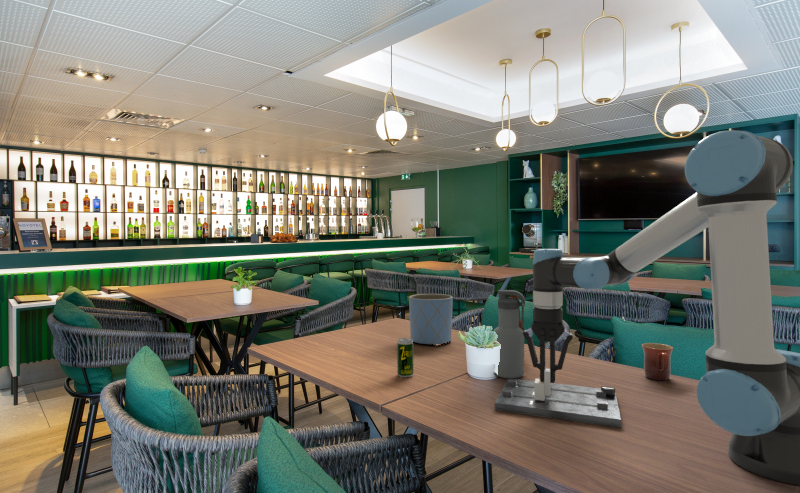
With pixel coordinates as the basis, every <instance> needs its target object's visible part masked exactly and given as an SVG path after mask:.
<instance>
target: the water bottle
mask: <svg viewBox="0 0 800 493" xmlns="http://www.w3.org/2000/svg"><path fill="white" fill-rule="evenodd" d="M497 294H498V299H497V309H498V326H497V327H495V328H494V330H493V332H494V331H495V332H496V333H497V335H498V338H497V341H498V342H499V343H500V344H501V349H500V362H499V365H498V376H497V377H499V378H502V379H506V380H507V379H508V378H512V379H520V378H522V377H523V376H524V374H525V337H524V335H523V330H522V329H521V328H519V309H520V307H521V321H522V328H524V329H525V323H524V322H525V320H524V317H525V316H524V314H525V306H526V299H525V296H524V295H523V294H522V293H521V292H520V291H518V290H513V289H498V290H497ZM510 295H515V296H517V297H518V298H519V299H516V298H510Z"/></svg>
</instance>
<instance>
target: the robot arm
mask: <svg viewBox="0 0 800 493" xmlns="http://www.w3.org/2000/svg"><path fill="white" fill-rule="evenodd" d="M686 157H687V158H686V160H685V164H684V176H685V179H686V181H687V183H688V184H689V186H690V187H691V188H692V189H693V190H694V191H696V192H695V193H693V194H692V195H690V196H689V197H688V198H686V199H685V200H684V201H682V202H680V203H679V204H678V205H677V206H675V207H673V208H672V209H671V210H669V211H668V212H666V213H665V214H663V215H662V216H660V217H659V218H658V219H657V220H655V221H653V222H652V223H650V224H649V225H648V226H646V227H644V228H643V229H642V230H640V231H639V232H638V233H636V234H635V235H633V236H632V237H630V238H629V239H628V240H626V241H625V242H623V244H621V245H619V246H618V247H616V248H615V249H614V250H612V251H611V252H610V253H608V254H606V255H604V256H593V257H591V256H589V257H567V256H564V253H563V250H562V249H559V248H537V249H535V250H534V252H533V258H532V264H531V265H532V278H533V284H532V285H533V287H532V288H533V290H532V304H533V305H534V307H532V324H531V325H530V328H528V329H524V332H523V335H524V339H525V340H526V343H527V347H528V352H529V355H530V359H531V363H532V366H533V368H537V369H538V370H539V379H540V381H541V382H544V395H545V396H550V395H551V383H555V382H556V372H557V371H562V369H563V366H564V362H565V359H566V354H567V350H568V347H569V344H570V343H571V342H572V340H573V339H574V334H573V333H572V332H568V331H567V330H565V326H564V324H563V322H564V321H563V319H564V318H563V317H564V314H563V308H562V307H563V305H564V304H563V303H564V302H563V301H564V297H563V294H564V293H563V292H564V291H563V289H564V288H563V287H568V288H576V289H577V288H578V289H584V290H586V291H587V290H588V291H589V290H597V291H598V290H601V289H603V288H604V287H605V286H618V285H619V286H621V285H622V284H626V283H629V282H631V280H632V279H633V278H634V276H635V274H636V273H637V272H639V271H640V270H642V269H643V268H645V267H647V266H648V265H650V264H652V263H654V262H655V261H656V260H658V259H659V258H661V257H663V256H665V255H667V253H669V252H670V251H673V250H674V249H676V248H677V247H679V246H680V245H682V244H684V243H685V242H687V241H689V240H690V239H692V238H693V237H695V236H697V235H698V234H700V233H702V232H703V231H705V230H706V229H708V240H709V241H708V243H709V244H708V245H709V260H710V261H709V263H710V280H711V281H710V282H711V298H712V300H711V301H712V316H713V317H712V318H713V336H714V340H713V341H714V343H713V345H712V346H710V347H709V348H708V349H707V350H705V368H706V372H705V374H704V375H702V376H701V378H700V379H699V381H698V383H697V386H696V398H697V401H698V404H699V406H700V408H701V410H702V411H703V413H704V414H705V415H706V416H707V417H708V418H710V420H711V421H712V422H713V423H714V424H715V425H717V426H718V427H720V428H721V429H722V430H724V431H726V432H728V433H731V434H732V435H731V437H730V438H729V441H728V444H727V446H728V447H727V448H728V451H727V452H728V456H729V458H730V460H731V461H732V462H733V463H735V464H736V465H738V466H739V467H741V468H742V469H745V470H747V471H749V472H751V473H753V474H755V475H758V476H761V477H764V478H767V479H769V480H774V481H777V482H780V483H785V484H790V485H797V486H799V485H800V352H796V351H795V352H794V351H789V350H784V349H778V348H777V349H776V348H775V340H774V325H773V324H774V323H773V309H772V308H773V307H772V303H773V302H772V288H771V274H770V273H771V272H770V271H771V270H770V269H771V268H770V253H769V237H768V221H767V219H768V218H767V214H768V212H769V211H770V210H771V209H772V208H773V207H774V206H775V205H777V203H778V202H777V201H778V197H777V191H779V190H780V189H781V188H783V187H784V185H786V183H787V182H788V181H789V179H790V177H791V175H792V172H793V168H794V162H793V161H794V160H793V157H792V155H791V152H790V151H789V148H787V146H785V145H784V144H782V143H781V142H779V141H778V140H776V139H773V138H769V137H765V136H760V135H757V134H755V133H752V132H751V131H747V130H731V129H730V130H722V131H717V132H715V133H712V134H709V135H708V136H706V137H704V138H703V139H701V140H700V141H699V142H698V143H697V144H696V145H695V146H694V147H693V148H692V149H691V150H690V152H689V153H688V155H687V156H686ZM533 335H535V337H536V338H537V339H538V341H539V360H538V355H537V351H536V348H535V343H534V339H533ZM561 336H562V339H563V340H564V341H563V344H562V347H561V350H560V351H561V352H560V355H559V359H558V363H556V342H557V341H558V340H559V338H560V337H561ZM546 342H548V343H549V368H546Z"/></svg>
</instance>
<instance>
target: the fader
mask: <svg viewBox="0 0 800 493" xmlns="http://www.w3.org/2000/svg"><path fill="white" fill-rule="evenodd" d="M534 381H535V382H534V400H542V401H544V399H545V395H544V382H541V381H540V378H535V379H534Z"/></svg>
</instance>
